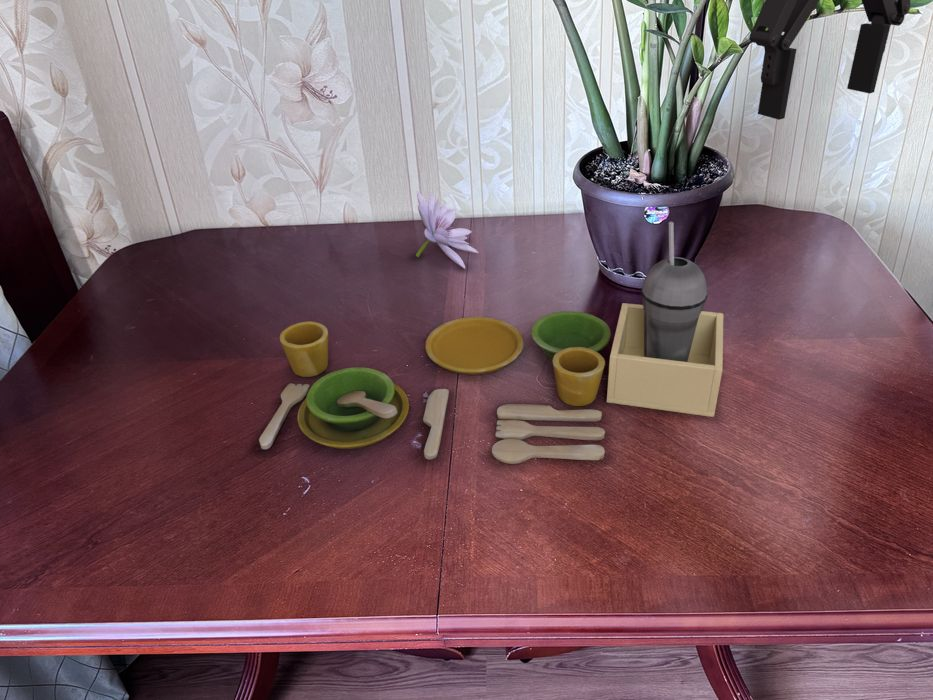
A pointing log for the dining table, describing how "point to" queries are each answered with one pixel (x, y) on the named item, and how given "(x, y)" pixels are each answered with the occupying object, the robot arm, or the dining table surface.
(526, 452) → the tableware set
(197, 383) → the dining table surface
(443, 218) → the water lily
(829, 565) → the dining table surface
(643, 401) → the box
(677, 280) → the beverage cup
